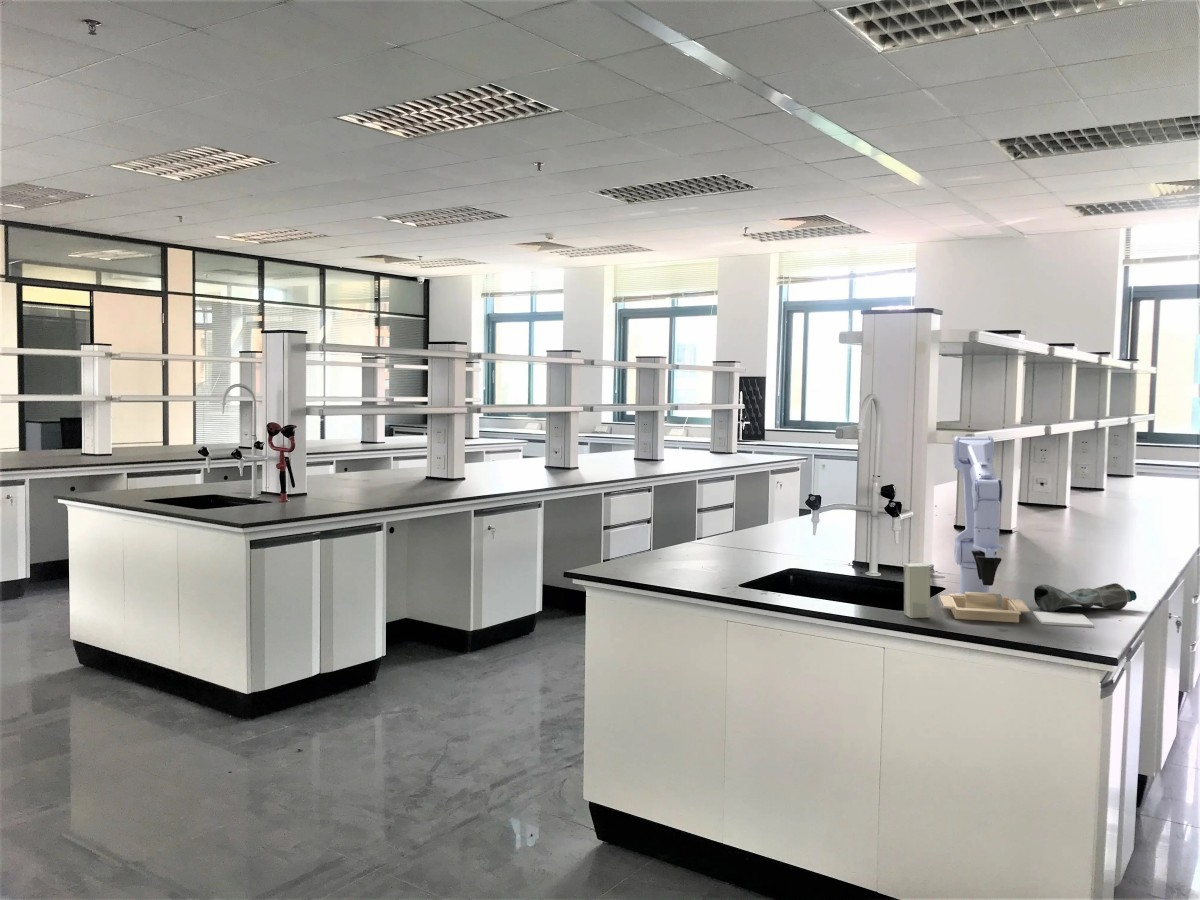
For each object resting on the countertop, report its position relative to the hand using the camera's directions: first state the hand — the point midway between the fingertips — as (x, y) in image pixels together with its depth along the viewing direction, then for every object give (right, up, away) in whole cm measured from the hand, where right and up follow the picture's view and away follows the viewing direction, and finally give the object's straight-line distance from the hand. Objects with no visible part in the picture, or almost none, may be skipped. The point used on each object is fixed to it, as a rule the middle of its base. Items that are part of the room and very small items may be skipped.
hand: (985, 582), depth 220 cm
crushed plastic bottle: (+27, -8, +5) cm, 29 cm away
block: (0, -8, +1) cm, 8 cm away
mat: (+16, -8, -6) cm, 19 cm away
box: (-18, -8, -2) cm, 20 cm away
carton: (0, -8, +1) cm, 8 cm away
